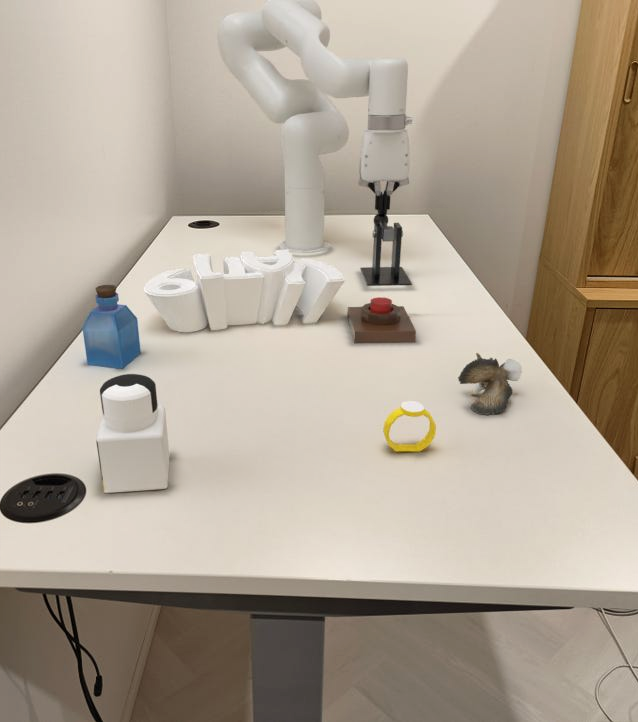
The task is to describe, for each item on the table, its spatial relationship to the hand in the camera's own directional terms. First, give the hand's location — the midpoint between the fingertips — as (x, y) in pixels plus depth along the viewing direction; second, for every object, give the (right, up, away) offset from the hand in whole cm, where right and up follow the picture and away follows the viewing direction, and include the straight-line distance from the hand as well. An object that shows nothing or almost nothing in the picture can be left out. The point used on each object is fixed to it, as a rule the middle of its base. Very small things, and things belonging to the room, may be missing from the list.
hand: (382, 213), depth 146 cm
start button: (-6, -23, -31) cm, 39 cm away
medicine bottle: (-41, -45, -68) cm, 91 cm away
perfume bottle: (-50, -32, -37) cm, 70 cm away
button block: (-6, -27, -29) cm, 40 cm away
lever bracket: (0, -15, -4) cm, 16 cm away
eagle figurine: (+4, -38, -53) cm, 65 cm away
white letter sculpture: (-29, -24, -22) cm, 44 cm away
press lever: (0, -5, -3) cm, 6 cm away
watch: (-9, -43, -64) cm, 78 cm away
